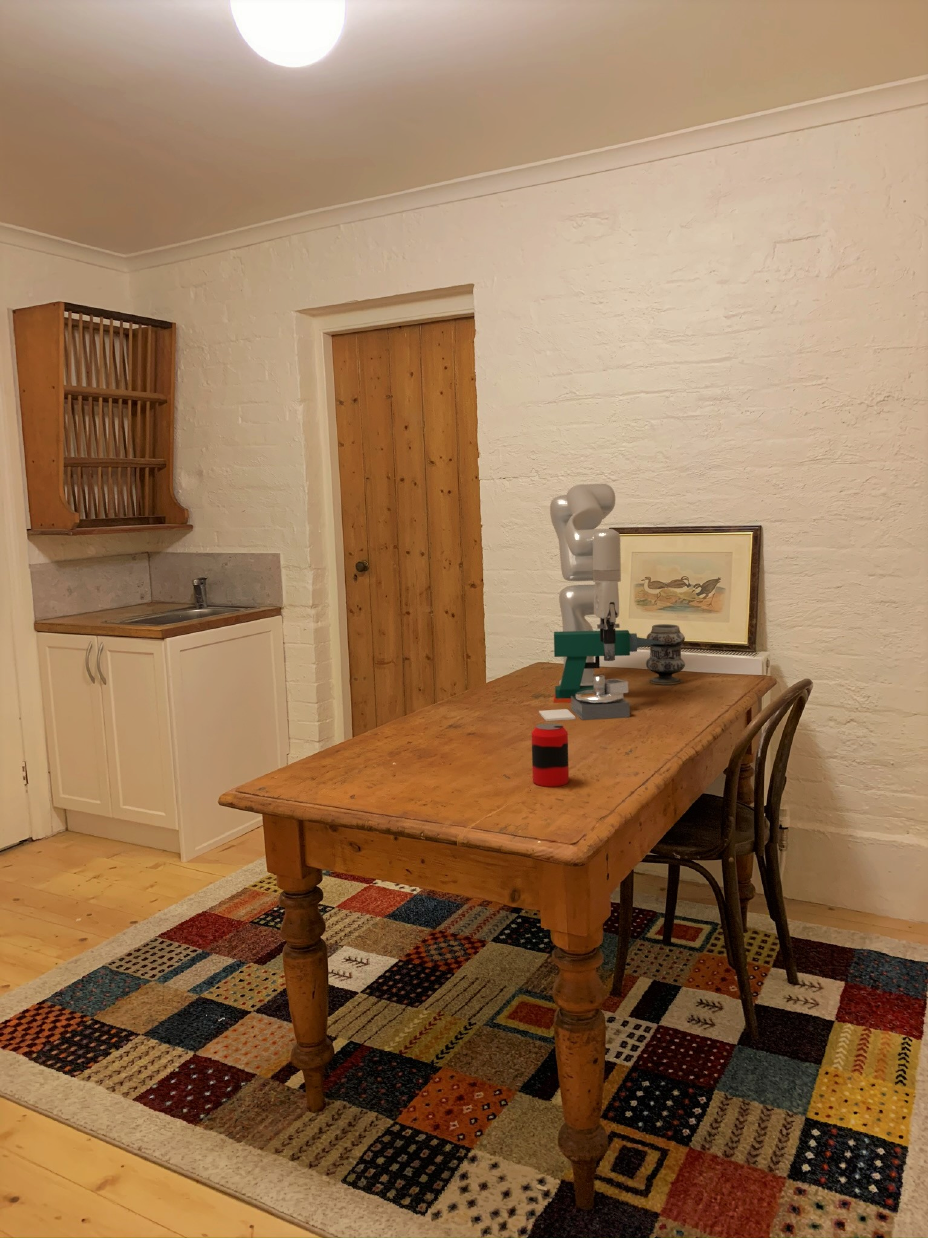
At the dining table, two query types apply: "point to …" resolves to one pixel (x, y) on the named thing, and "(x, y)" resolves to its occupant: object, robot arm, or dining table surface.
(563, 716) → the key mat
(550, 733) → the soda can
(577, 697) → the collar
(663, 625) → the apothecary jar
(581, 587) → the robot arm
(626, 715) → the stand
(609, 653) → the chuck key
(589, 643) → the power tool
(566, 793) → the dining table surface
